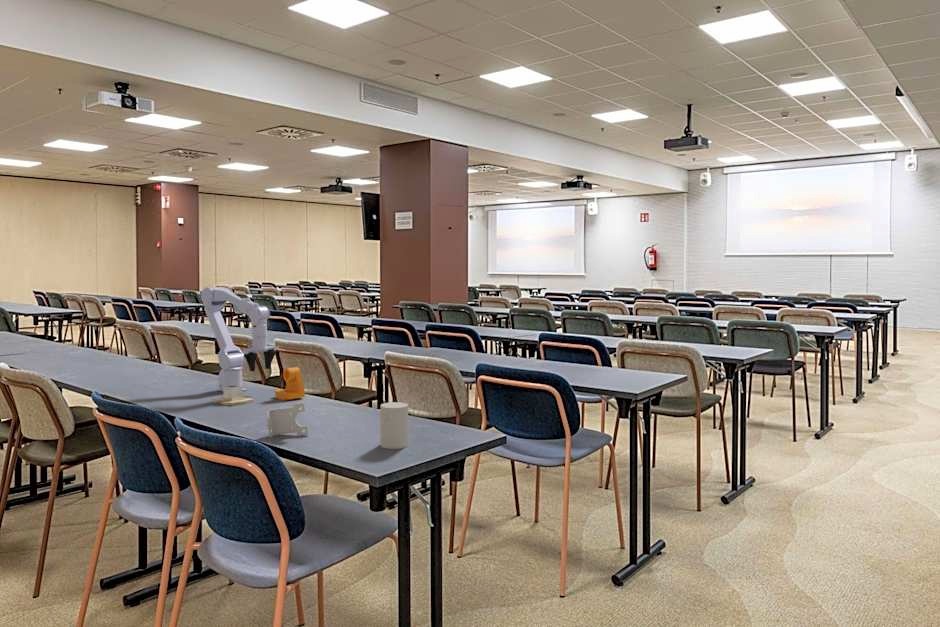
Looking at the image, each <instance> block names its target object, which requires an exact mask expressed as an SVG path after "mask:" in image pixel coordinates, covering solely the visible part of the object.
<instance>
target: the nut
mask: <svg viewBox="0 0 940 627" xmlns="http://www.w3.org/2000/svg"><path fill="white" fill-rule="evenodd" d="M230 386H235V387H230ZM230 386H224V387H223V391H222V392H223V394H222V395H223V397H224V400H228V401H236V400H241V399H243V397H244V391H243V388H244V386H243V385H242V386H238V385H230Z"/></svg>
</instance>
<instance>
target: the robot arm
mask: <svg viewBox="0 0 940 627" xmlns="http://www.w3.org/2000/svg"><path fill="white" fill-rule="evenodd" d="M200 300H201V302H202V304H203V307H204V311H205V312H204V313H205V315H206V317H207V319H208V321H209V324H210V326H211V329H212V331H213V334H214V337H215V339H216V341H217V343H218V344H217V345H219V348H220V350H219V352H218V353H217V358H218V364H219V367H220V368H221V370H219V373H218V388H217V389H216V390H217V391H220V392H223V387H224V386H230V385H238V386H243V369H244V367H245V366H246V363H247V364H248V368H249V372H256V371H255V370H256V361H257V360H256V358H257V354H255V353H263V356H264V367H265V369H266V370H270V369H271V366H272V363H273V360H274V357H275V355H276V354H277V352H276V351H277V345H268V320H269V318H270V315H271V311H270V309H269V308H268V307H267V306H266V305H259V303H257V302H256V303H255V302H254V301H252V300H251V298H249V297H247V298H246V297H243V298H241V297H240V296H238V295H237V294H235V293H234V292H233V291H231V290H230V288H227V287H225V286H219V287H218V286H217V287H216V286H215V287H209V286H206V287H204V288H203V289H202V291H201V294H200ZM226 303H229V304H232V305H234V306H236V307H237V310H238V311H239V312H240V313H242V314H245V315H246V316H248V318H249V320H250V325H251V337H252V338H251V343H252V344H251V347H247V348H243V350H242V349H241V348H240V347H239V346H236V345H235V343H234V341H233V339H232V337H231V335H230V332H229V329H228V327H227V324H226V322H225V320H224V318H223V315H222V313H221V310H222V309H223V308H224V306H225V305H226ZM247 390H248V389H247V388H244V387H243V392H244V391H247Z"/></svg>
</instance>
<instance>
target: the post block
mask: <svg viewBox="0 0 940 627" xmlns="http://www.w3.org/2000/svg"><path fill="white" fill-rule="evenodd" d="M230 387H235V386H230ZM254 402H255V399H254V398H249V397H244V396H243V399H241V400H236V401H228V400H224V396H223V397H218V398H214V399H213V398H212V399H211V403H213V404H214V403H215V404H220V405H225V406H230V407H235V406H238V405H239V406H240V405H244V404H249V403H254Z"/></svg>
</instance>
